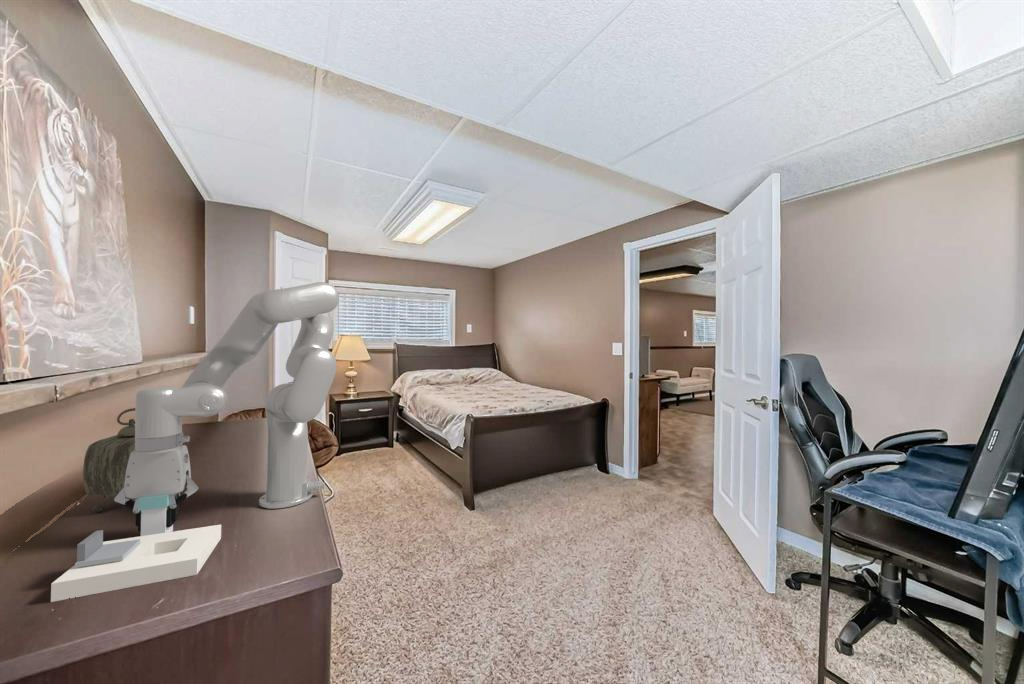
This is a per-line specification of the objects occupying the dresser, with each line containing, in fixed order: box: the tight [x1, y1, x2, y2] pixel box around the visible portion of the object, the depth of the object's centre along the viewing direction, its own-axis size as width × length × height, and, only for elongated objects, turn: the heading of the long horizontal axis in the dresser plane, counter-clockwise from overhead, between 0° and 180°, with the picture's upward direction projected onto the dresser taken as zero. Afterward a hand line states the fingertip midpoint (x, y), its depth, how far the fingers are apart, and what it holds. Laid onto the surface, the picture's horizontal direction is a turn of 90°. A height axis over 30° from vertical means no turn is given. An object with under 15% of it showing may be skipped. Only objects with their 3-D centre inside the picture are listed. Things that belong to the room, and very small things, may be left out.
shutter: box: [74, 529, 140, 568], centre depth 69 cm, size 6×6×4 cm
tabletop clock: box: [82, 407, 135, 513], centre depth 98 cm, size 14×9×25 cm, turn 178°
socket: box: [50, 524, 222, 603], centre depth 71 cm, size 19×14×3 cm
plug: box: [138, 495, 174, 536], centre depth 81 cm, size 5×5×10 cm
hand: (157, 525), depth 81 cm, fingers closed on plug, 4 cm apart
